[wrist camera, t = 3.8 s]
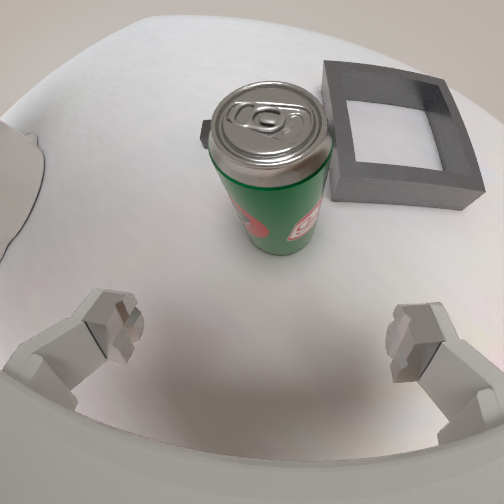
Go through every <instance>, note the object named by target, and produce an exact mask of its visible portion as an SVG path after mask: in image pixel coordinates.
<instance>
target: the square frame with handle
mask: <svg viewBox="0 0 504 504" xmlns="http://www.w3.org/2000/svg"><path fill="white" fill-rule="evenodd" d="M322 97H323V105H324V111H325V114H326V117H327V119H328V120H329V122H330V125H331V127H332V130H333V134H334V146H333V152H332V156H331V161H330V177H331V193H332V201H339V202H362V203H380V204H396V205H409V206H422V207H433V208H444V209H454V210H463V209H465V208H466V207H467V206H468V205H470V204H471V203H472V202H474V201H475V200H476V199H478V198H479V197H480V196H481V195H483V194H484V193H485V192H486V191H485V187H484V183H483V180H482V176H481V172H480V169H479V166H478V162H477V159H476V156H475V153H474V150H473V147H472V144H471V141H470V138H469V136H468V133H467V130H466V128H465V125H464V122H463V120H462V118H461V115H460V113H459V110H458V108H457V106H456V104H455V101H454V99H453V97H452V95H451V93H450V91H449V89H448V87H447V85H446V83H445V81H444V80H443V79H439V78H435V77H431V76H427V75H423V74H419V73H414V72H410V71H405V70H400V69H394V68H388V67H382V66H376V65H368V64H360V63H351V62H341V61H327V60H324V63H323V77H322ZM346 100H356V101H366V102H375V103H382V104H390V105H396V106H403V107H409V108H414V109H419V110H425V111H426V114H427V116H428V119H429V122H430V125H431V128H432V131H433V134H434V137H435V141H436V144H437V147H438V151H439V154H440V158H441V162H442V166H443V170H444V171H438V170H431V169H424V168H416V167H408V166H399V165H389V164H378V163H366V162H356V160H355V153H354V145H353V139H352V132H351V126H350V120H349V115H348V109H347V104H346ZM210 130H211V120H203V124H202V129H201V135H200V140H201V142H202V144H203V146H204V148H208V138H209V133H210Z"/></svg>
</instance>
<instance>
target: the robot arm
mask: <svg viewBox="0 0 504 504" xmlns="http://www.w3.org/2000/svg"><path fill="white" fill-rule="evenodd" d="M43 170H44V157H43V153H42V151H41V150H40V149H39V147H38V146H37V136H36V135H35V134H33V133H30V134H28V135H27V136H24V135H23V134H21V133H20V132H18V131H16V130H15V129H13V128H12V127H10V126H9V125H7V124H6V123H4V122H2V121H1V120H0V260H1V258H2V256H3V254H4V252H5V250H6V247H7V245H8V244H9V242H10V241H11V240H12V239H13V238H14V237H15V235H16V234H17V233H18V231H19V230H20V229H21V227H22V226H23V224H24V222H25V220H26V219H27V217H28V215H29V213H30V211H31V209H32V206H33V204H34V202H35V199H36V197H37V194H38V191H39V188H40V184H41V180H42V176H43ZM136 304H137V300H136V298H135V296H134V294H132V293H128V292H121V291H114V290H105V289H99V288H96V289H93V290H92V291H91V292H90V294H89V295H88V296H87V297H86V299H85V300H84V301H83V302H82V304H81V305H80V306H79V307H78V309H77V310H76V311H75V313H74V314H73V315H72V317H71V318H66V319H64V320H62V321H60V322H59V323H57V324H55V325H53V326H52V327H50V328H48V329H46V330H45V331H43V332H41V333H39V334H38V335H36V336H34V337H32V338H31V339H29V340H27V341H26V342H24V343H22V344H20V345H19V346H18V348H17V349H16V350H15V352H14V353H13V355H12V356H11V357H10V359H9V360H8V362H7V363H6V365H5V366H4V368H3V369H2V371H1V370H0V504H504V372H502V371H501V370H500V369H499V368H498V367H496V366H495V365H494V364H493V363H492V362H491V361H489V360H488V359H487V358H486V357H484V356H483V355H482V354H481V353H480V352H478V351H477V350H476V349H475V348H473V347H472V346H471V345H470V344H468V343H467V342H466V341H465V340H460V339H459V337H458V335H457V332H456V330H455V328H454V326H453V324H452V322H451V320H450V318H449V316H448V314H447V311H446V309H445V308H444V306H443V304H442V303H440V302H436V303H426V304H425V303H422V304H398V305H397V306H396V307H395V309H394V312H393V317H394V321H393V322H392V323H391V324H389V326H388V329H387V332H386V350H387V354H388V355H389V356H390V357H391V358H392V359H393V360H392V362H391V364H390V368H391V373H392V378H393V382H394V383H401V382H413V381H418V383H419V385H420V386H421V387H422V388H423V389H424V391H425V392H426V393H427V394H428V395H429V397H430V398H431V399H432V400H433V402H434V403H435V404H436V405H437V406H438V408H439V409H440V410H441V411H442V413H443V414H444V415H445V416H446V418H447V419H448V420H449V421H450V422H449V423H447V424H446V425H445V426H444V427H443V428H442V429H441V430H440V431H439V433H438V434H437V436H438V442H439V445H438V446H434V447H430V448H425V449H421V450H416V451H411V452H406V453H400V454H394V455H387V456H380V457H372V458H362V459H351V460H334V461H284V460H267V459H255V458H245V457H237V456H229V455H222V454H216V453H210V452H205V451H199V450H194V449H189V448H185V447H180V446H176V445H172V444H168V443H164V442H160V441H156V440H153V439H149V438H146V437H142V436H139V435H136V434H133V433H130V432H127V431H124V430H121V429H118V428H115V427H112V426H110V425H107V424H104V423H102V422H99V421H97V420H94V419H92V418H89V417H87V416H85V415H82V414H80V413H78V412H75V411H74V409H75V407H76V405H77V403H78V401H77V398H76V397H75V396H74V395H73V394H72V393H71V391H70V390H71V389H73V388H74V387H75V386H76V385H78V384H79V383H80V382H81V381H82V380H84V379H85V378H86V377H87V376H89V375H90V374H91V373H92V372H93V371H95V370H96V369H97V368H98V367H100V366H101V365H102V364H103V363H105V362H106V361H107V360H112V361H116V362H121V363H125V364H127V362H128V360H129V358H130V357H131V355H132V353H133V351H134V345H133V343H134V342H136V341H138V340H139V339H140V337H141V335H142V333H143V329H144V319H143V316H142V313H141V312H140V311H139V310H138V309H137V308H136ZM106 359H107V360H106Z"/></svg>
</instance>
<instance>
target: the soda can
mask: <svg viewBox="0 0 504 504" xmlns="http://www.w3.org/2000/svg"><path fill="white" fill-rule="evenodd" d="M333 146H334V134H333V130H332V127H331V125H330V122H329V120H328V119H327V117H326V114H325V111H324V109H323V107H322V105H321V104H320V102H319V101H318V100H317V99H316V98H315V97H314V96H313V95H312V94H311V93H309V92H308V91H307V90H305V89H303V88H301V87H299V86H296V85H293V84H290V83H286V82H279V81H264V82H257V83H252V84H249V85H246V86H243V87H241V88H239V89H237V90H235V91H233V92H232V93H230V94H229V95H228V96H226V97H225V98H224V99H223V100H222V101H221V102H220V103H219V105H218V106H217V108H216V109H215V111H214V113H213V116H212V120H211V130H210V133H209V138H208V150H209V155H210V158H211V160H212V163H213V165H214V167H215V169H216V171H217V173H218V175H219V177H220V179H221V181H222V183H223V185H224V187H225V189H226V191H227V193H228V195H229V197H230V199H231V201H232V203H233V205H234V207H235V209H236V211H237V213H238V215H239V217H240V219H241V221H242V223H243V225H244V227H245V229H246V231H247V233H248V235H249V237H250V239H251V240H252V242H253V243H254V244H255V245H256V246H257V247H258V248H260V249H261V250H263V251H265V252H267V253H270V254H274V255H286V254H291V253H293V252H296V251H298V250H300V249H301V248H302V247H304V246H305V245H306V244H307V243H308V242H309V240H310V239H311V237H312V235H313V233H314V229H315V225H316V221H317V217H318V213H319V209H320V205H321V201H322V197H323V192H324V188H325V184H326V179H327V175H328V170H329V166H330V161H331V156H332V152H333Z"/></svg>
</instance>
